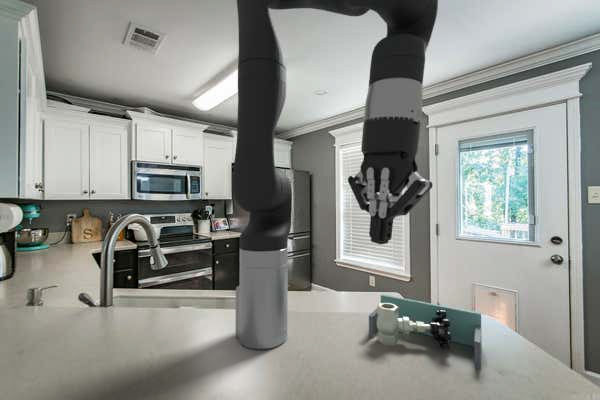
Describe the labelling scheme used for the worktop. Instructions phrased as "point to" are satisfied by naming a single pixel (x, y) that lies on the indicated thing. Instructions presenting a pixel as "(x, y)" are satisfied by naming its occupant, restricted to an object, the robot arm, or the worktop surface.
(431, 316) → the walled bay
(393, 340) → the valve
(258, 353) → the worktop surface
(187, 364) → the worktop surface
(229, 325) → the worktop surface
